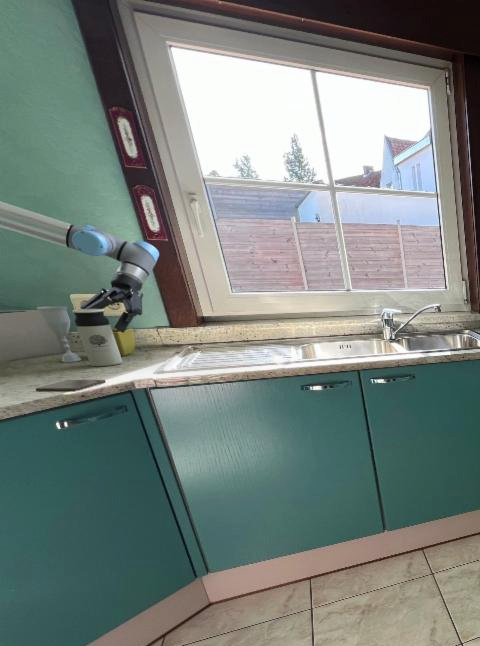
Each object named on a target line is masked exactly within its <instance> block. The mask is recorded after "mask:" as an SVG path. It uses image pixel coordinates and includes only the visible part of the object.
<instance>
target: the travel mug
mask: <svg viewBox="0 0 480 646" xmlns="http://www.w3.org/2000/svg"><path fill="white" fill-rule="evenodd" d="M104 311H105V309H81V308H79V309H73V310H72V311H71V312H72V313H73V314H74V315H75V319H74V323H75V326H76V329H77V331H78V334H79V337H80V340H81V342H82V345H83V348H84V350H85V353H86V357H87V359H88V362H89V365H90V366H92V367H111V366H117V365H121V364H123V358H122V356H120V353H119V350H118V347H117V344H116V341H115V338H114V335H113V332H112V329H113V328H112V327H111V323H110V320H109V318H107V317H106V315H105V313H104Z"/></svg>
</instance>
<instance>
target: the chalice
mask: <svg viewBox="0 0 480 646" xmlns="http://www.w3.org/2000/svg"><path fill="white" fill-rule="evenodd" d="M36 309H37V310H38V311H39V313H40V315H41V318H42V320H43V323H44V324H45V325H46V326H47V328H48V329H49V330H51V332H52V333H54V334H55V335H56V336H60V338H61V343H62V344H63V346H62V347H63V348H64V349H65V353H63V354H62V357H61V359H62V360H61V362H62V361H63V362H62V363H73V361H74V362H79V361H83V359H82V358H80V356H79V355H78V354H77V353H76V352H72V350H71V349H70V347H71V346H70V345H69V343H68V342H69V340H68V339H67V337H66V335H68V334H69V331H70V329H71V319H70V316H69V314H68V311H67V310H68V306H65V305H64V306H63V305H61V306H59V305H54V306H53V305H52V306H51V305H49V306H38V307H36Z"/></svg>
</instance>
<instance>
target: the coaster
mask: <svg viewBox="0 0 480 646" xmlns="http://www.w3.org/2000/svg"><path fill="white" fill-rule="evenodd" d="M101 383H102V384H104V383H106V380H105V379H66V380H61V381H57V382H53V383H51V384H46V385H43V386H39V387H36V388H35V391H36V392H77V391H80V389H81V390H84V389H87V387H88V388H91V387H94V386H93V385H95V386H98V385H102V384H101ZM97 384H98V385H97ZM90 386H91V387H90ZM83 388H84V389H83ZM76 390H77V391H76Z"/></svg>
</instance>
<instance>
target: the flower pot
mask: <svg viewBox="0 0 480 646" xmlns="http://www.w3.org/2000/svg"><path fill="white" fill-rule="evenodd" d="M111 329H112V332H113V335H114V338H115V341H116V344H117V347H118V350H119V353H120V356H121V357H124V356H128V355H132V354H133V353H134V350H135V347H136V338H135V333H134V329H133V328H126V330H125V332H124V333H123V332H121V331H119V330H117V329H116V328H111Z"/></svg>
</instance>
